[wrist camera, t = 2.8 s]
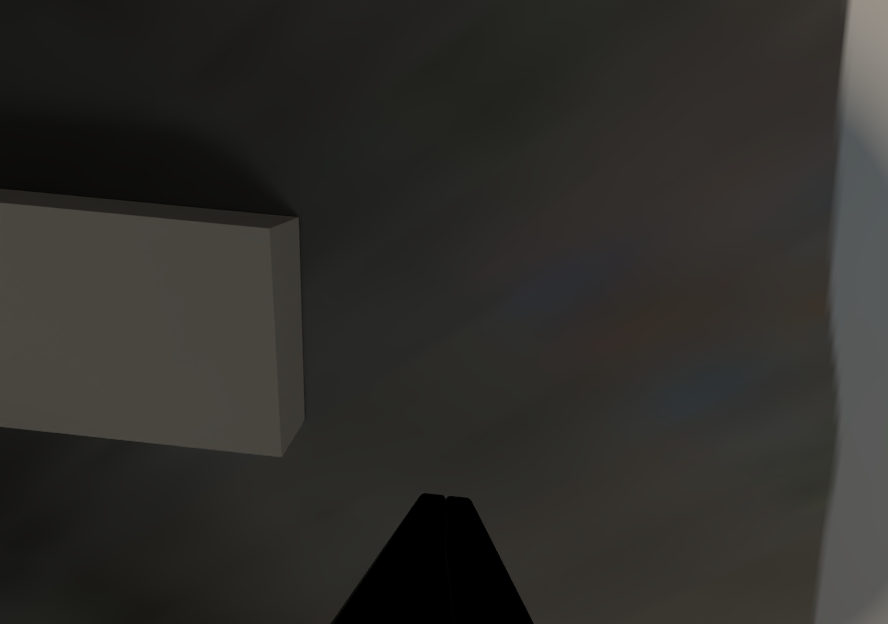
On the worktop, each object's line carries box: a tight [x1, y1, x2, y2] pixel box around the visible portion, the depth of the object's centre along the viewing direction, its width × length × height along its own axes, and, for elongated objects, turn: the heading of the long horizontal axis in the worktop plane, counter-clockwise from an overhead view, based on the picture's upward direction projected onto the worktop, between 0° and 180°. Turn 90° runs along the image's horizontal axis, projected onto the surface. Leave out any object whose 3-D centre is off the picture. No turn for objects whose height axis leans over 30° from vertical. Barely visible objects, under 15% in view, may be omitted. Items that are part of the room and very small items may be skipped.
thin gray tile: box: [0, 189, 305, 457], centre depth 13 cm, size 16×7×2 cm, turn 85°
